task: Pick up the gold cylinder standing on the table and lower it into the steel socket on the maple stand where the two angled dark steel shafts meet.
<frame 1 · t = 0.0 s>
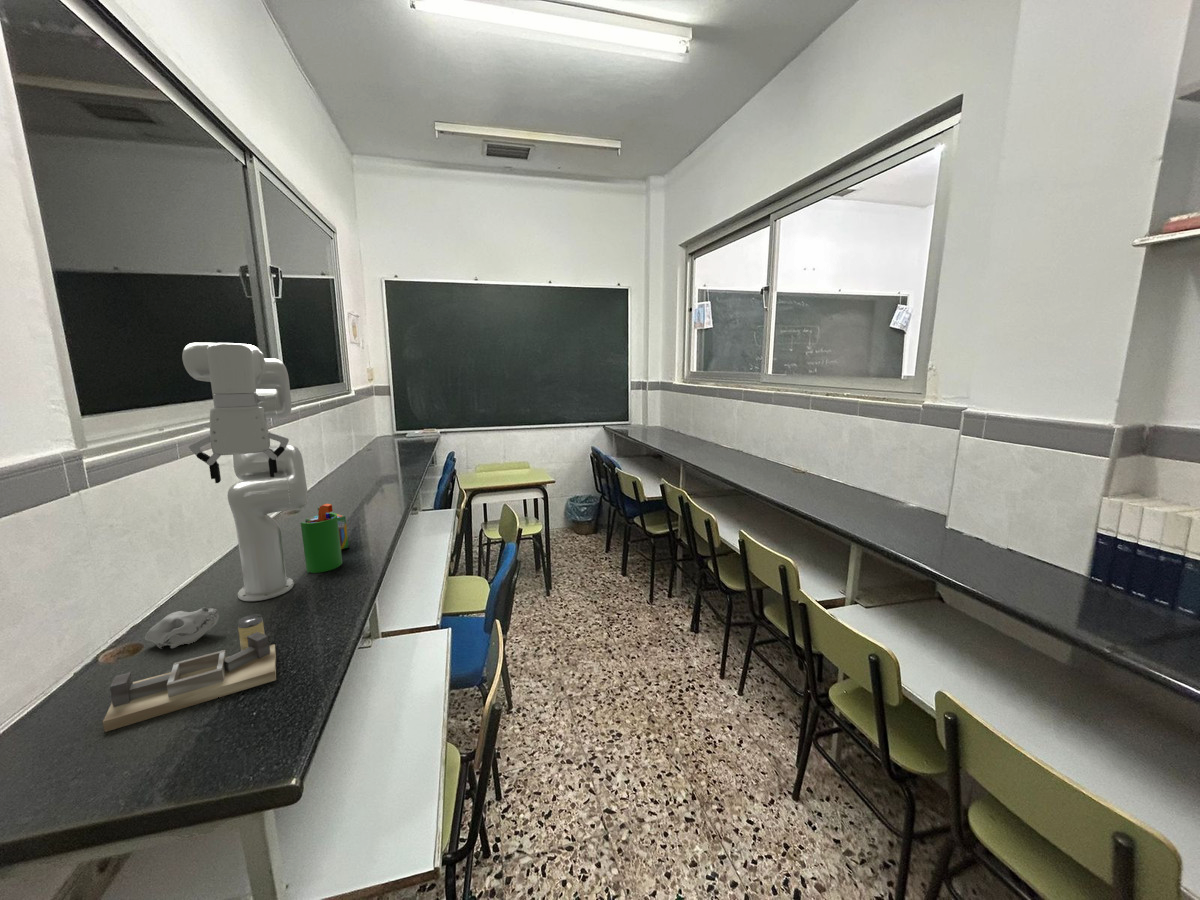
hand: (246, 479, 103), 37 cm above the table, tool pointing down, fingers open, 9 cm apart
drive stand: (200, 687, 90), on the table
chalk box: (328, 549, 159), on the table
skull: (184, 642, 105), on the table
gold cylinder: (253, 648, 103), on the table
green cylindrical cup: (326, 566, 146), on the table
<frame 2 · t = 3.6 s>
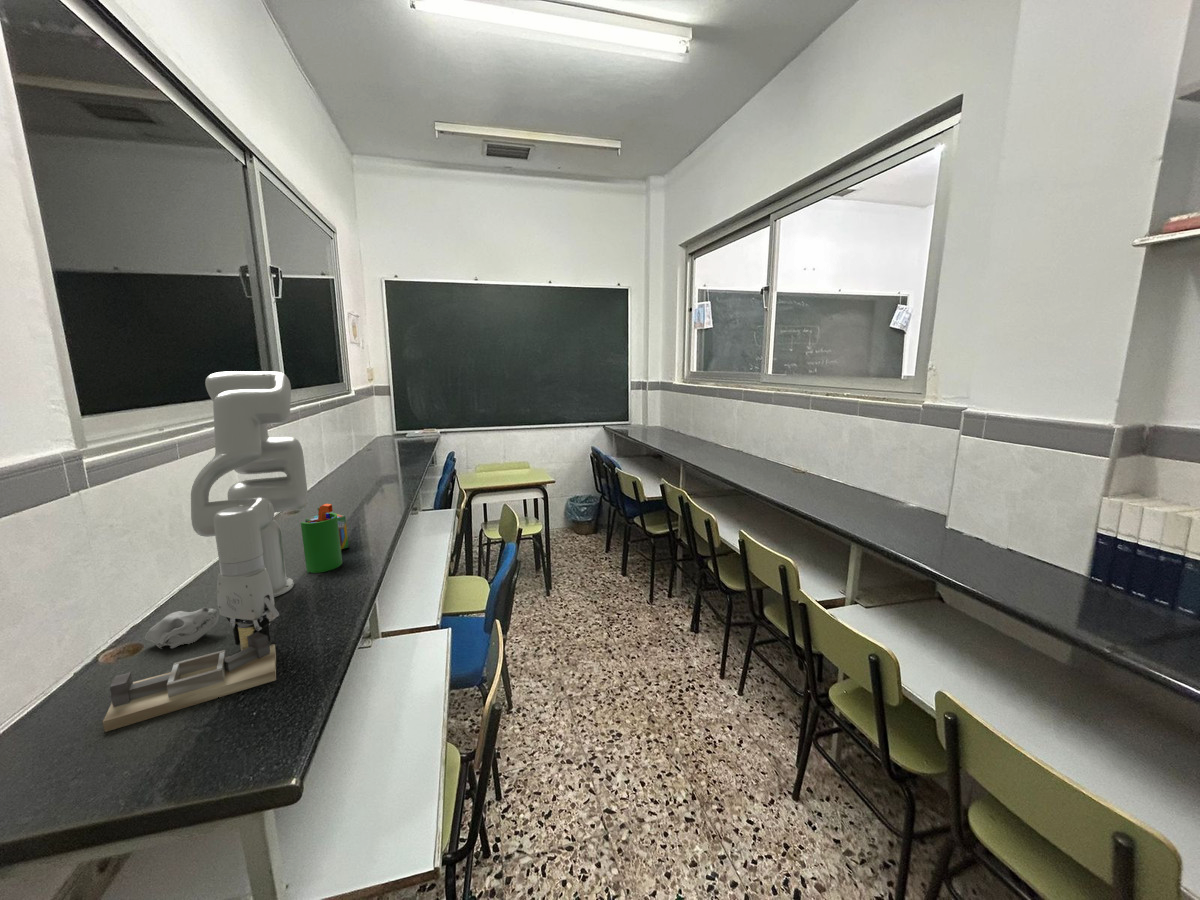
hand: (253, 641, 103), 2 cm above the table, tool pointing down, fingers closed on gold cylinder, 4 cm apart
gold cylinder: (253, 648, 103), on the table, touching gripper
everything else where it was.
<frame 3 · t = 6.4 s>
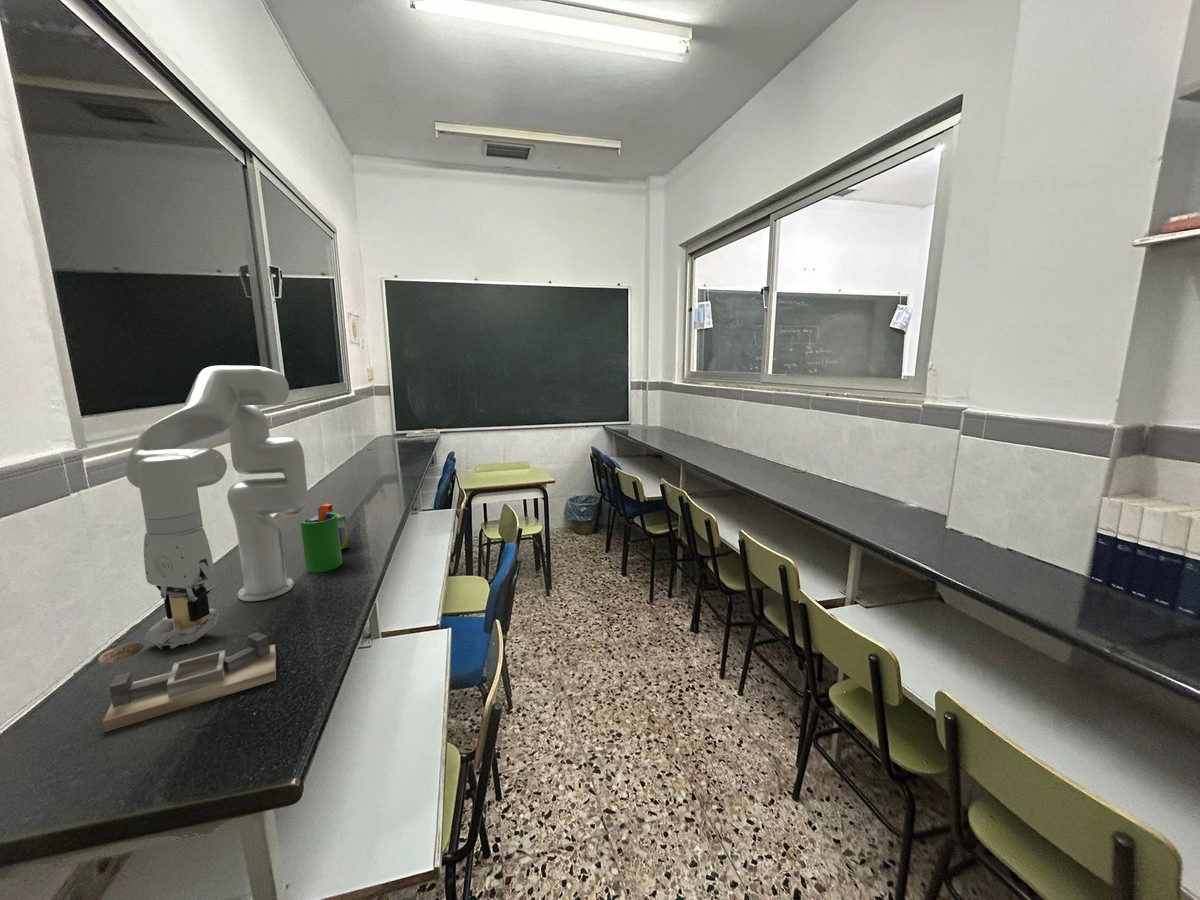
hand: (188, 615, 87), 15 cm above the table, tool pointing down, fingers closed on gold cylinder, 4 cm apart
gold cylinder: (189, 623, 88), point 14 cm above the table, touching gripper
everything else where it was.
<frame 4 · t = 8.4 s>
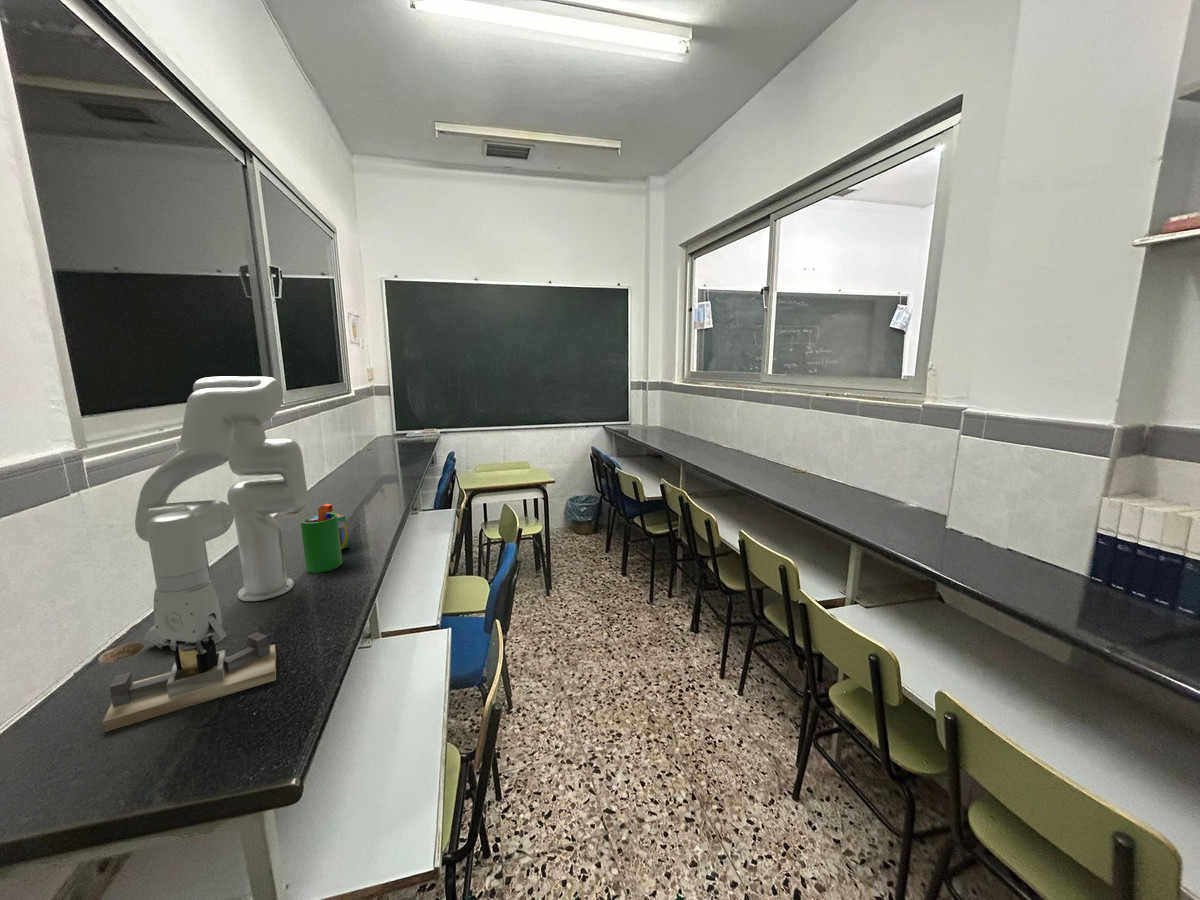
hand: (197, 666, 90), 5 cm above the table, tool pointing down, fingers closed on gold cylinder, 4 cm apart
gold cylinder: (198, 673, 90), point 3 cm above the table, touching gripper
everything else where it was.
when the fingers open (5 cm above the table, at t = 9.5 s): gold cylinder stays where it is, resting on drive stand.
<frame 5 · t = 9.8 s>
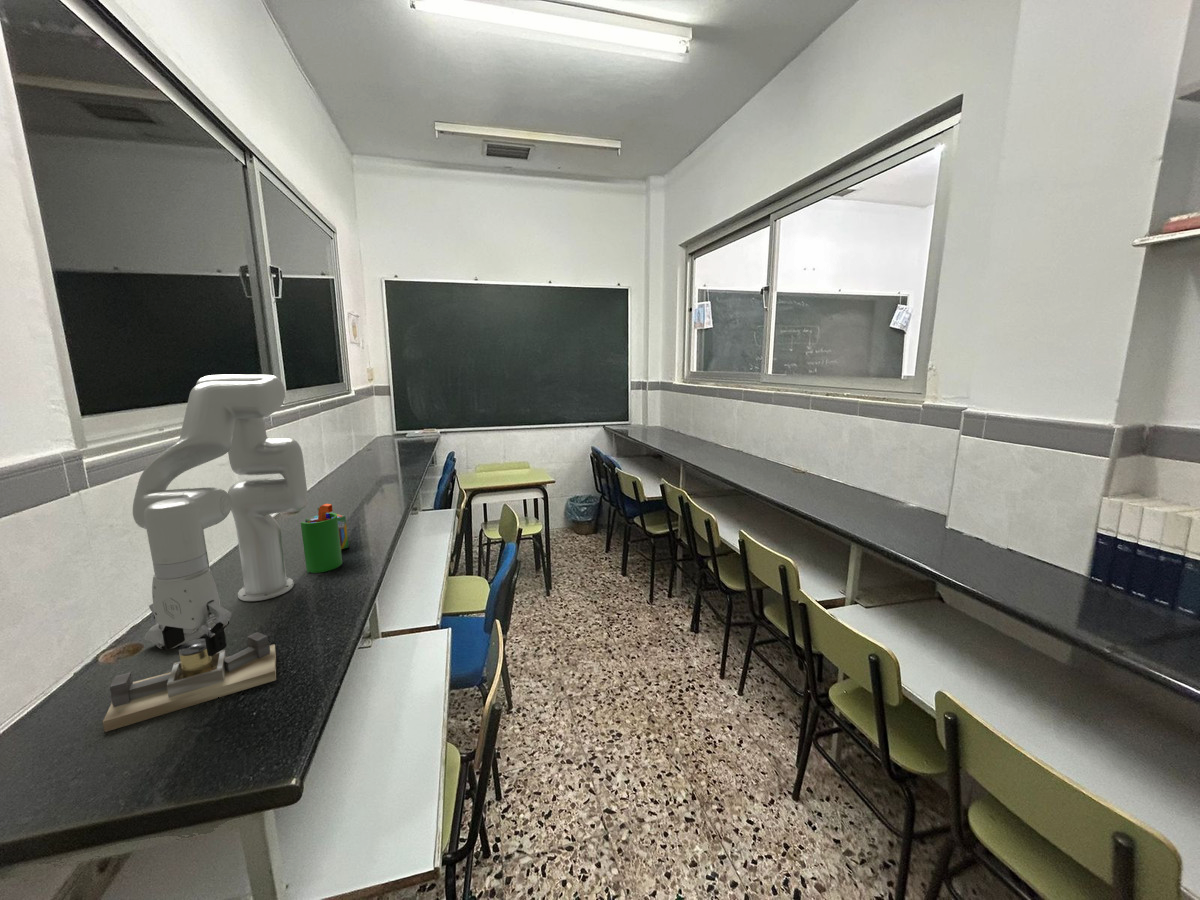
hand: (196, 648, 89), 8 cm above the table, tool pointing down, fingers open, 9 cm apart
gold cylinder: (199, 678, 90), point 2 cm above the table, touching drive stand
everything else where it was.
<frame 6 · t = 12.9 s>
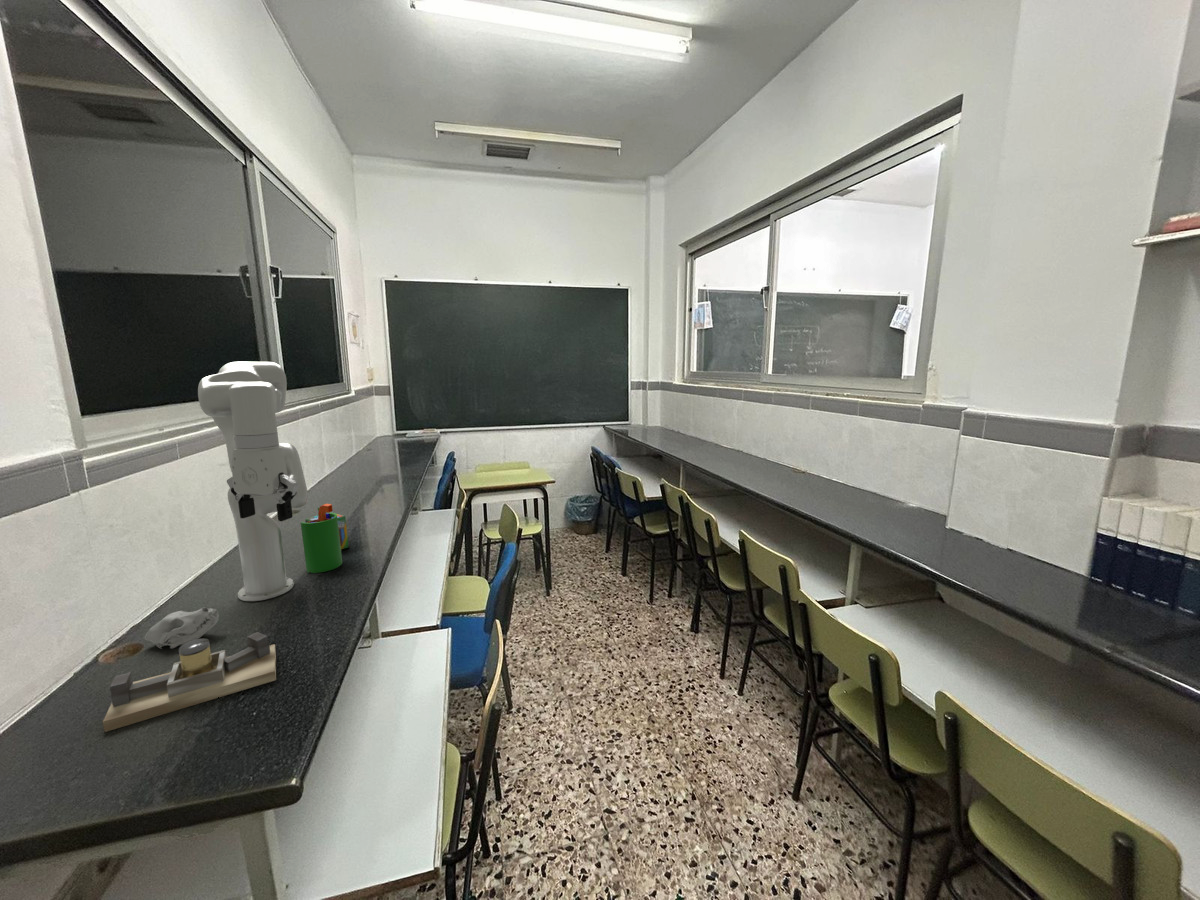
hand: (266, 518, 103), 28 cm above the table, tool pointing down, fingers open, 9 cm apart
nothing on the table moved.
at the end: gold cylinder 0.0 cm off-centre on the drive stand, point 2.0 cm above the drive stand's base; gold cylinder tilted 0°; the gripper is holding nothing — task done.
